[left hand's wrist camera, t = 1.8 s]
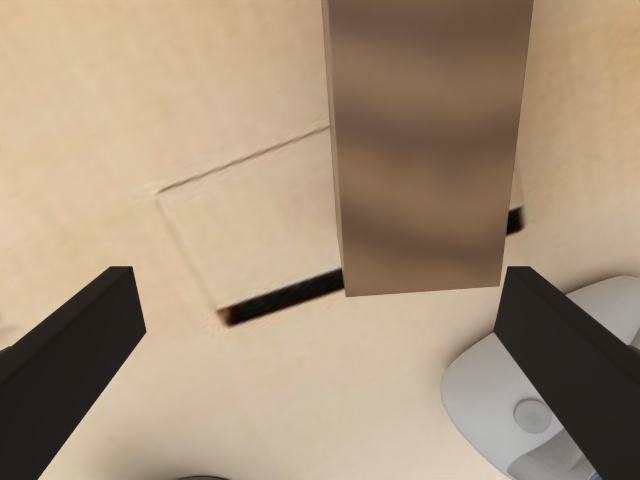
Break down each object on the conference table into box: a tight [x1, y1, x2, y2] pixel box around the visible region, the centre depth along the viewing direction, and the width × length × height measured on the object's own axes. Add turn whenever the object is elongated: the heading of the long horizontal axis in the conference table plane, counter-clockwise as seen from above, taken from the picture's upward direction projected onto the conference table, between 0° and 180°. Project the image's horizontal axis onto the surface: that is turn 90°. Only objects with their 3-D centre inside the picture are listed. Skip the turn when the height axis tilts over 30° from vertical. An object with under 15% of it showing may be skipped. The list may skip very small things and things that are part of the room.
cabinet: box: [322, 0, 533, 297], centre depth 25 cm, size 20×10×12 cm, turn 5°
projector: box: [440, 275, 640, 480], centre depth 33 cm, size 22×23×15 cm
